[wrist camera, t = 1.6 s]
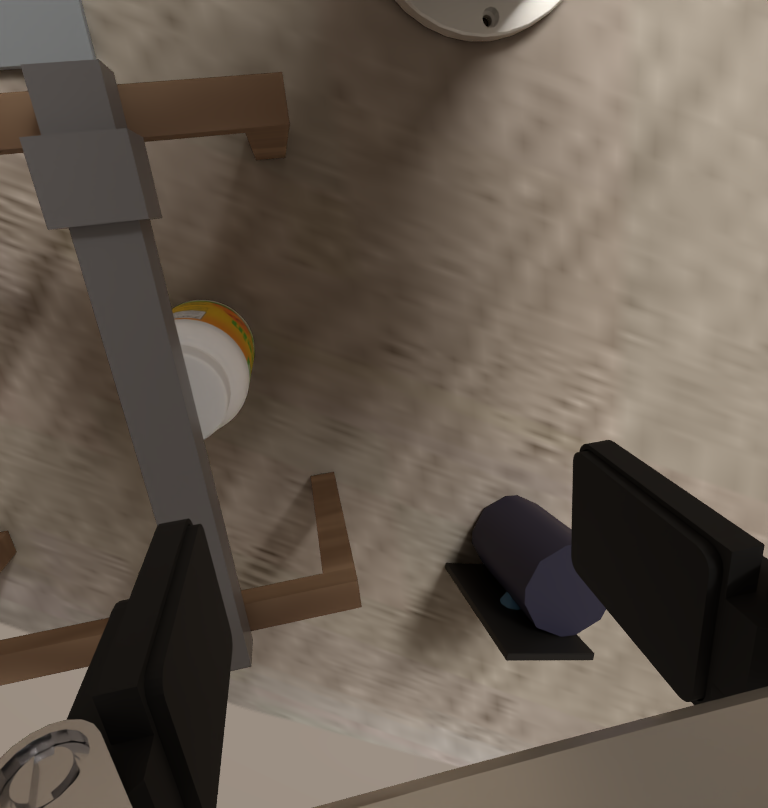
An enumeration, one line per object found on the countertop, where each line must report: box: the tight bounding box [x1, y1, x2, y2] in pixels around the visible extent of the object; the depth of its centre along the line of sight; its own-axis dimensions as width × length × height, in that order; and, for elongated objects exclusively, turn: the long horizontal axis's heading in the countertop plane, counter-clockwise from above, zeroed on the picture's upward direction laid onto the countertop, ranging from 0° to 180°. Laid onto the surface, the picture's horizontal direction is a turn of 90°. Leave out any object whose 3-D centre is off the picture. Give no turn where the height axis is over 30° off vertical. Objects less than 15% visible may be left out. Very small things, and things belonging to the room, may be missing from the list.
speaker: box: [445, 495, 606, 660], centre depth 34 cm, size 8×6×10 cm
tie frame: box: [0, 72, 362, 685], centre depth 25 cm, size 22×21×11 cm
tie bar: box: [19, 59, 253, 671], centre depth 19 cm, size 22×3×2 cm, turn 6°
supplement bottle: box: [172, 300, 255, 439], centre depth 26 cm, size 5×5×10 cm
